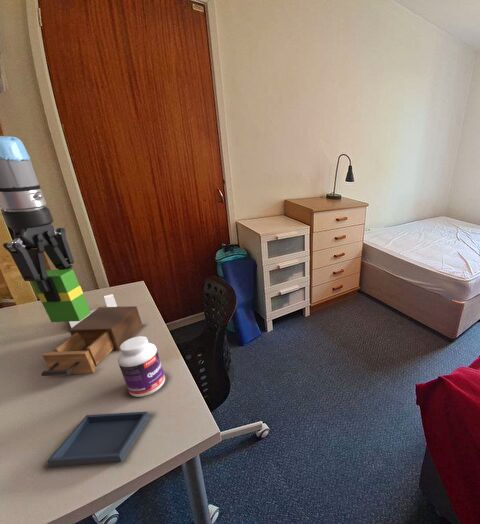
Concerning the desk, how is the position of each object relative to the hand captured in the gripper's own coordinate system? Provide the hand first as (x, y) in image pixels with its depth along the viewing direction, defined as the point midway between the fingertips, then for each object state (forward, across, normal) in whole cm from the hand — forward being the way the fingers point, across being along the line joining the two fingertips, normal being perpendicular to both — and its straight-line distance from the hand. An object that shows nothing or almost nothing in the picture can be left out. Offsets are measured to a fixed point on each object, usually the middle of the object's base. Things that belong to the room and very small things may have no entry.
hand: (61, 296), depth 74 cm
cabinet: (+22, +10, 0) cm, 25 cm away
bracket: (+23, +22, +13) cm, 34 cm away
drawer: (+21, -2, 0) cm, 22 cm away
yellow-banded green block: (+7, 0, 0) cm, 7 cm away
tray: (+22, -26, -21) cm, 40 cm away
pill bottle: (+22, -11, -22) cm, 33 cm away
